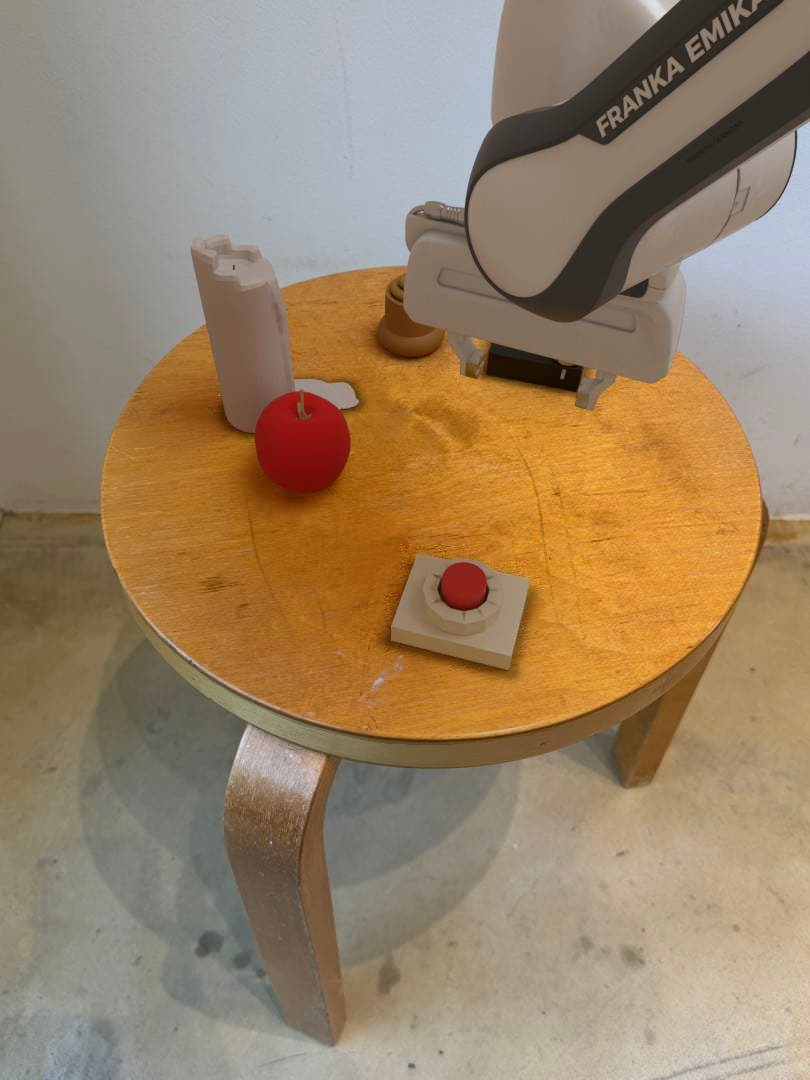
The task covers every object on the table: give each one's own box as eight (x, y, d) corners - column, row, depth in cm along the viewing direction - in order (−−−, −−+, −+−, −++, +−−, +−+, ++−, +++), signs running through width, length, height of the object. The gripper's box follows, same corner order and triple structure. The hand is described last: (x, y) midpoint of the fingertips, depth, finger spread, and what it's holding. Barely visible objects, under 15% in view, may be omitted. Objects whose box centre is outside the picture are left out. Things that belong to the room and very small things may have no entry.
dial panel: (608, 344, 96) (614, 321, 93) (594, 408, 89) (600, 384, 87) (503, 325, 98) (506, 302, 95) (482, 386, 91) (484, 363, 89)
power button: (489, 580, 70) (491, 567, 69) (479, 614, 68) (481, 602, 67) (447, 570, 71) (448, 557, 70) (436, 604, 69) (436, 591, 67)
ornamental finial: (454, 330, 97) (427, 368, 93) (395, 312, 99) (366, 349, 95) (458, 268, 91) (429, 306, 87) (395, 251, 93) (364, 287, 89)
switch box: (527, 593, 74) (533, 565, 71) (508, 670, 69) (513, 644, 66) (417, 567, 76) (417, 539, 73) (390, 640, 71) (390, 613, 68)
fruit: (371, 480, 82) (368, 402, 75) (293, 523, 79) (281, 446, 71) (318, 428, 87) (310, 349, 79) (241, 467, 83) (225, 388, 76)
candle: (364, 415, 88) (355, 241, 73) (230, 439, 86) (192, 264, 70) (349, 371, 93) (338, 198, 77) (221, 393, 90) (184, 219, 75)
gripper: (386, 218, 57) (390, 378, 68) (692, 288, 52) (644, 450, 62) (423, 174, 61) (421, 333, 71) (712, 235, 55) (663, 397, 66)
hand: (527, 388), depth 67 cm, fingers open, 8 cm apart
